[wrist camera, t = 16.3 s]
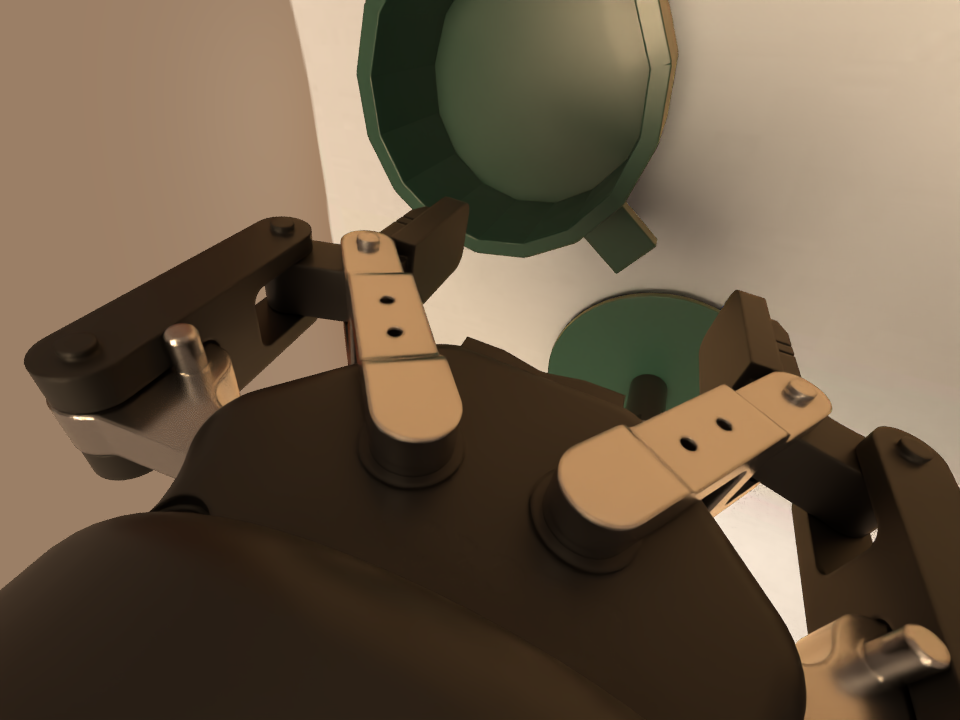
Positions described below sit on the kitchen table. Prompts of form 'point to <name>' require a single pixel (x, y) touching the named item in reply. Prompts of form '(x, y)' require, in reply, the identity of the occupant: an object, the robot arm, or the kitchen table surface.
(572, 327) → the lid
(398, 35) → the pan
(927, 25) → the kitchen table surface
